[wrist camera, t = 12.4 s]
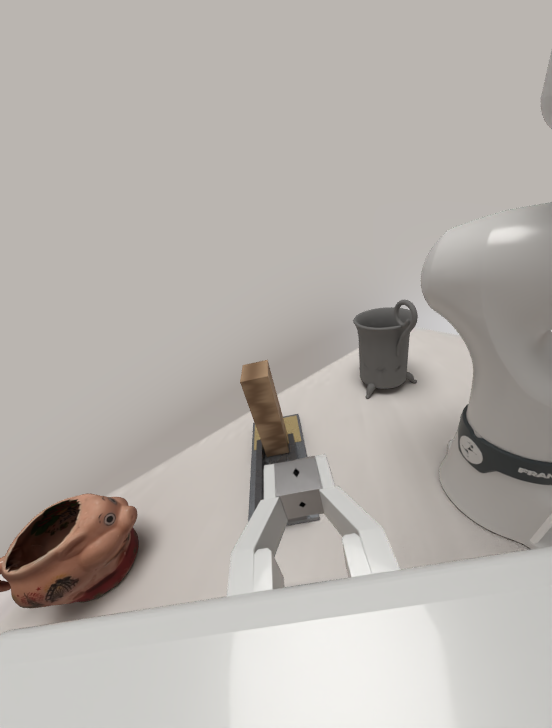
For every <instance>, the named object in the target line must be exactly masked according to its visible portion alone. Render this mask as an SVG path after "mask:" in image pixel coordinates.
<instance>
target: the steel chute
mask: <svg viewBox="0 0 552 728" xmlns="http://www.w3.org/2000/svg"><path fill="white" fill-rule="evenodd" d="M283 419H284V423H285V427H286V431H287V437H288V445H289V453H285V454H280V455H274V456H269V457H267V456H266V453H265V450H264V448H263V445H262V442H261V439H260V436H259V434H258V431H257V428H256V425H255V423H253V440H252V459H251V478H250V497H249V517H248V522H249V520H250V518H251V517H252V515H253V513H254V511H255V509H256V508H257V506H258V504H259V502H260V500H263V499H264V465H269V464H275V463H281V462H287V461H293V460H296V459H301V458H306V457H307V455H306V450H305V445H304V440H303V435H302V430H301V425H300V420H299V415H298V414H295V415H290V416H285V417H283ZM316 520H319V515H318V514H315V515H308V516H302V517H298V518H293V519H288V522H287V524H286V526H287V525H292V524H298V523H304V522H310V521H316Z"/></svg>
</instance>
